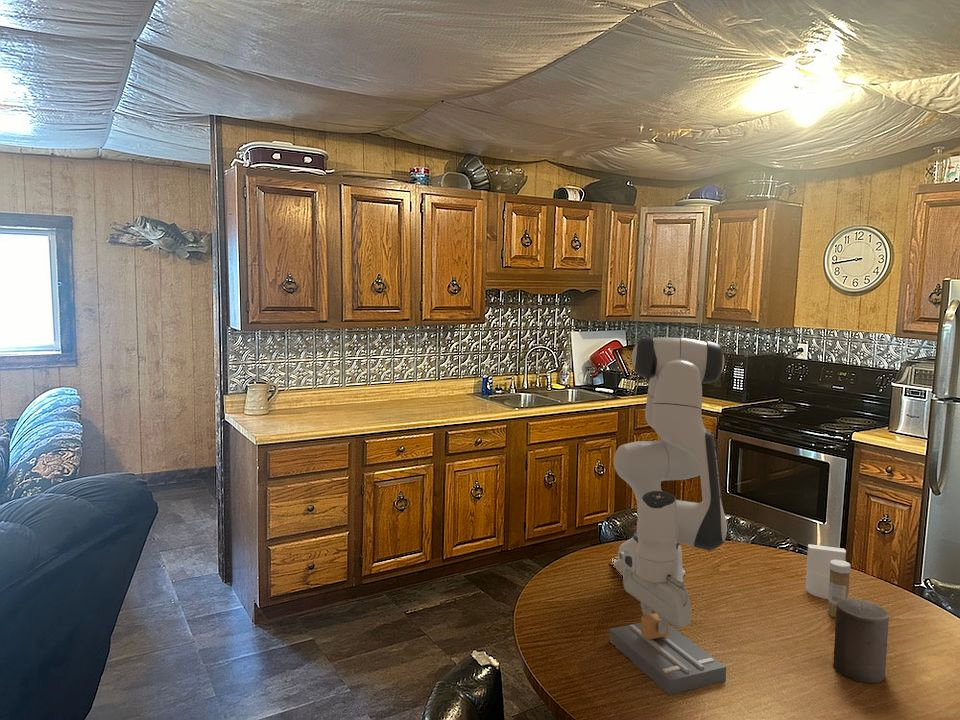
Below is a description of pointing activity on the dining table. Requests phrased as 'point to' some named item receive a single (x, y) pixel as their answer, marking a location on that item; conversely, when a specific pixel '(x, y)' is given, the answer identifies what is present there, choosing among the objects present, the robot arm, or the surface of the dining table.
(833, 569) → the sprinkles bottle
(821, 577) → the base with upright slab
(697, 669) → the fader console
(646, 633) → the fader tab
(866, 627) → the pillar candle
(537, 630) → the dining table surface
